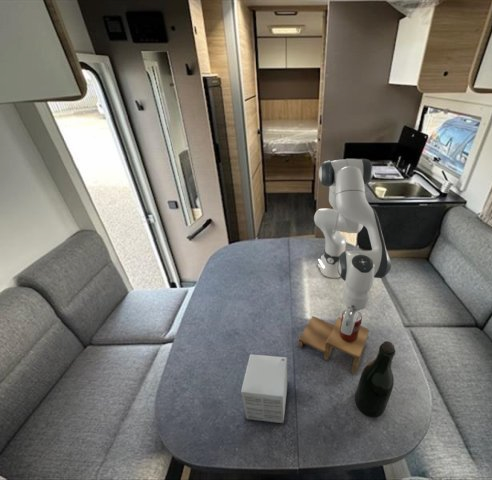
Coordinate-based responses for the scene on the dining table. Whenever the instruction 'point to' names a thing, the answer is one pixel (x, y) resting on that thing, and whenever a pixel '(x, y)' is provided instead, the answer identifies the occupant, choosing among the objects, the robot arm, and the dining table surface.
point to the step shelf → (332, 339)
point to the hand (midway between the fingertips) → (350, 323)
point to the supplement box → (265, 388)
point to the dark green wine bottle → (376, 383)
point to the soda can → (355, 330)
